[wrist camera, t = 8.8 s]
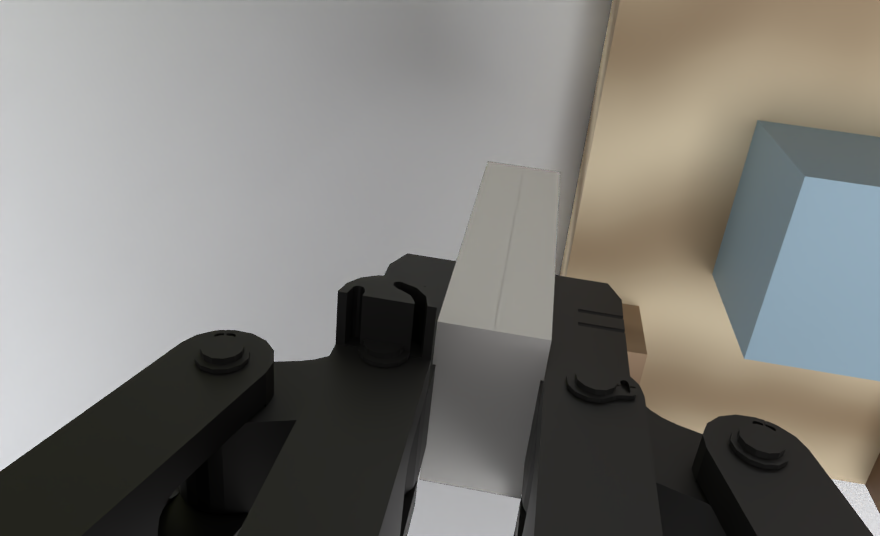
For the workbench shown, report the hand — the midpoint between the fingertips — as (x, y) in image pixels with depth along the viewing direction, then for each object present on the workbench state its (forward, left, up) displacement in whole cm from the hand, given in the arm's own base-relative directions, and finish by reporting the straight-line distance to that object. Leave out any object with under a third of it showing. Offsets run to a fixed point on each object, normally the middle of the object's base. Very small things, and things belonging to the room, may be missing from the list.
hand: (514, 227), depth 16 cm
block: (-1, -9, -8) cm, 12 cm away
